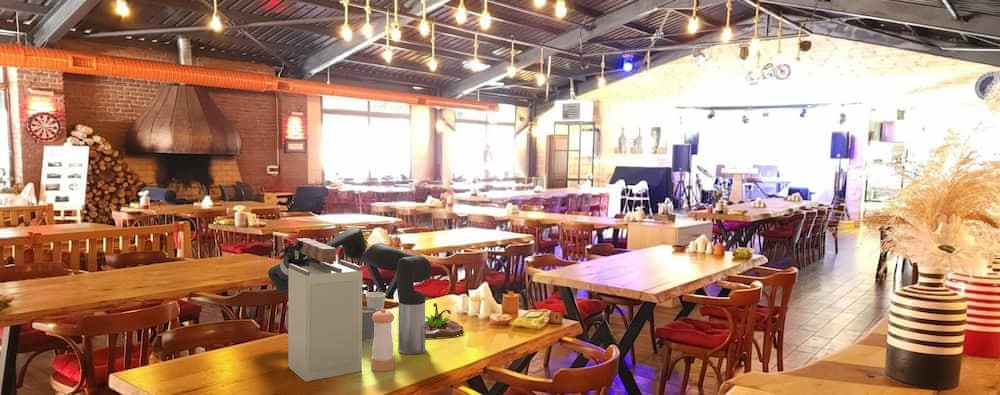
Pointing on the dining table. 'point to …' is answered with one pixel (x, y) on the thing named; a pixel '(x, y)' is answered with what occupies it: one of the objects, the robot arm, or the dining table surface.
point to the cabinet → (324, 319)
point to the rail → (317, 250)
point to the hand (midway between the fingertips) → (308, 242)
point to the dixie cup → (375, 300)
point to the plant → (441, 325)
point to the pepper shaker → (382, 341)
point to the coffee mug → (368, 322)
